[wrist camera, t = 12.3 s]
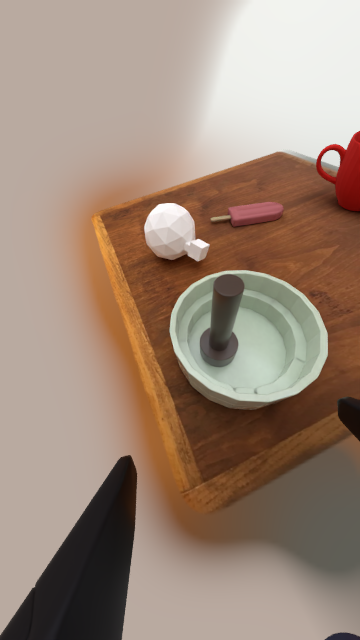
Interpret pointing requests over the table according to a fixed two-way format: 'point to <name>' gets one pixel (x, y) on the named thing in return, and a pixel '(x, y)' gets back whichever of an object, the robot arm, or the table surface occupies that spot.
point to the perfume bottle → (173, 233)
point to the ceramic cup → (345, 173)
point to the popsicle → (252, 213)
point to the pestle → (222, 321)
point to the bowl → (252, 342)
